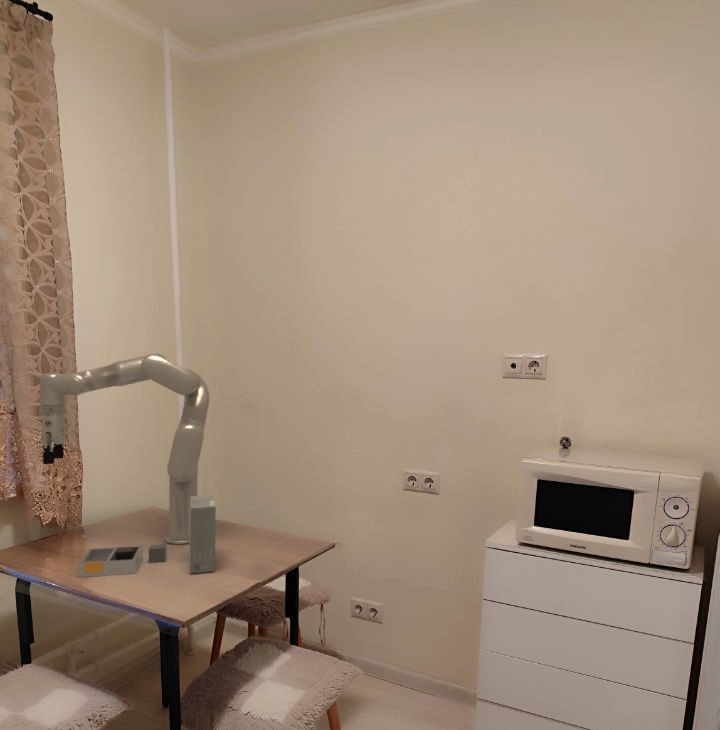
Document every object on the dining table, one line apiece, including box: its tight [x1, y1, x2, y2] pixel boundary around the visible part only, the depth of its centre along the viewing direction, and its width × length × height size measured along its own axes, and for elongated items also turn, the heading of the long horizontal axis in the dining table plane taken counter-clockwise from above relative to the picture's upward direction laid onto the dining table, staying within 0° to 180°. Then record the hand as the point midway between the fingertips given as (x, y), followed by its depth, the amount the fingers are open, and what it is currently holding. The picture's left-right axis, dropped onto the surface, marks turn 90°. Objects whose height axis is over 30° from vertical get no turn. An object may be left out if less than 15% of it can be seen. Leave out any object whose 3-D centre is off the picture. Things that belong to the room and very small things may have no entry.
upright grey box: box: [148, 543, 167, 564], centre depth 183 cm, size 5×4×4 cm
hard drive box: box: [188, 494, 217, 574], centre depth 180 cm, size 16×8×20 cm, turn 17°
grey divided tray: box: [77, 545, 144, 578], centre depth 177 cm, size 16×13×5 cm
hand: (53, 460), depth 193 cm, fingers open, 9 cm apart
